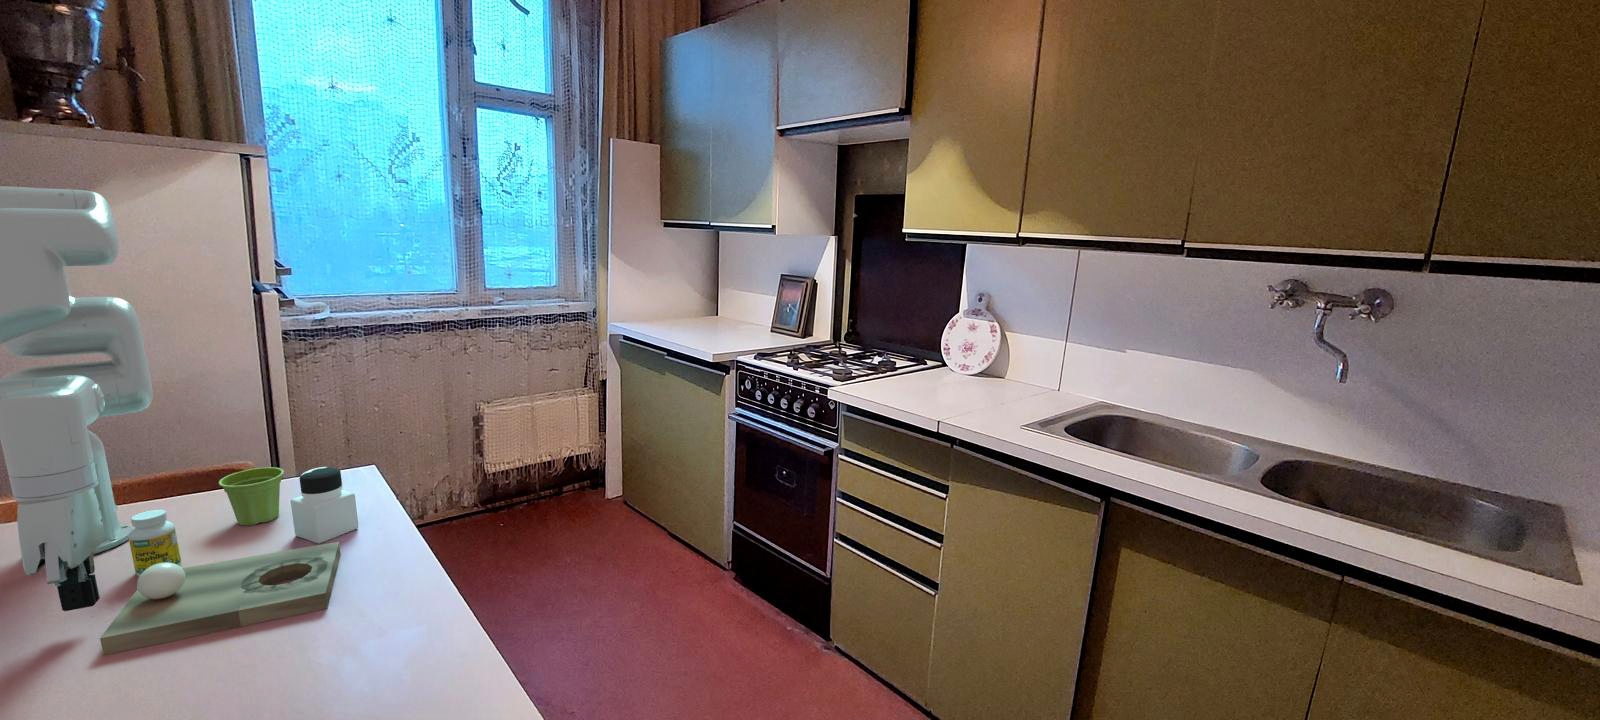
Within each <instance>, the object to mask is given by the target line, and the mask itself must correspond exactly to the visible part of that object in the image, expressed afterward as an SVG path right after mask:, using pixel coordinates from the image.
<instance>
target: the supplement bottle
mask: <svg viewBox="0 0 1600 720" xmlns="http://www.w3.org/2000/svg"><path fill="white" fill-rule="evenodd" d="M130 520H131V527H132V529H133V530H131V531H130V533H129V535H128V537H129V539H128V543H129V546H130V552H131V557H132V562H133V567H134V571H135V574H136V576H137V577H140V575H141V574H142V573H143V572H144V571H145V570H146V569H147V568H149V567H151V566H153V565H155V564H159V563H166V562H168V563H174V564H177V565H179V566H180V567H181V564H182V559H181V558H182V557H181V553H180V548H179V547H180V546H179V541H178V536H177V533H176V532H177V531H176V526H175V524H174V523H173V522H171V521H168V516H167V512H166V510H164V509H154V510H153V509H151V510H147V511H144V512H140V513H138V514H134V515H133V516H131V518H130Z"/></svg>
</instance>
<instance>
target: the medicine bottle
mask: <svg viewBox="0 0 1600 720" xmlns="http://www.w3.org/2000/svg"><path fill="white" fill-rule="evenodd" d="M341 472H342V471H341V469H339V468H337V467H331V466H322V467H316V468H312V469H309V470H307V471H305V472H303V473H302V474H301V475H300V476H299V479H298V480H299V484H300V493H301V494H300V496H297V497H294V498H291V500H290V507H291V514H292V522H293V528H294V534H295V535H294V536H296V537H298V538H301V539H304V540H307V541H310V542H312V543H314V544H317V545H321V544H322V543H323V544H324V543H325V542H329V541H330V540H332V539H334V538H337V537H340V535H341V536H343V535H345V533H346V534H348V533H350V531H351V532H353V531H356V530H358V529H359V521H358V514H357V513H358V512H357V504H356V496H355V493H354V492H351V491H347V490H344V489H343V481H342V473H341ZM357 528H358V529H357ZM355 529H356V530H355ZM352 530H353V531H352Z"/></svg>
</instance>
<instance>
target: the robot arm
mask: <svg viewBox="0 0 1600 720" xmlns="http://www.w3.org/2000/svg"><path fill="white" fill-rule="evenodd" d="M119 246H120V242H119V235H118V231H117V226H116V224H115V218H114V216H113V212H112V209H111V206H110V204H109V203H108V201H107V200H106V198H105V197H104V196H102V195H101V194H99V193H97V192H95V191H91V190H90V191H89V190H83V189H66V188H43V187H25V186H23V187H22V186H7V185H6V186H2V185H0V345H1V346H2V347H3V349H4V350H5V351H6V352H7V353H8V354H10V355H12V356H14V357H18V358H25V359H26V358H27V359H33V358H34V359H35V358H36V359H37V358H40V359H41V358H53V357H55V358H56V357H66V356H77V355H78V356H79V355H80V356H82V355H91V354H103V355H106V356H108V357H109V358H110V359H109V360H99V361H98V360H97V361H88V362H87V361H86V362H77V363H75V362H73V363H61V364H60V363H59V364H51V365H41V366H39V365H38V366H32V367H31V366H30V367H26V368H22V369H19V370H18V369H17V370H13V371H12V372H9V373H7V374H5V375H3V377H1V378H0V443H1V447H2V451H3V456H4V460H5V466H6V469H7V474H8V478H9V483H10V487H11V492H12V496H13V500H14V501H16V502H18V503H17V513H16V514H17V515H16V516H17V531H18V540H19V541H18V542H19V550H20V554H21V560H22V561H21V562H22V567H23V571H24V573H25V574H26V575H28V576H34V575H36V574H38V573H39V572H40V571H41V570H42V569H43V568H45V575H46V583H47V585H51V584H53V585H55V587H57V592H58V597H59V602H60V606H61V609H62V611H64V612H68V611H69V612H70V611H74V610H81V609H86V608H91V607H94V606H95V605H96V603H97V602H98V601H99V600H100V598H101V597H100V594H99V589H98V588H99V587H98V583H97V579H96V574H95V571H96V570H95V569H96V568H95V561H94V560H95V559H94V555H96V554H99V553H101V552H104V551H108V550H110V549H113V548H116V547H117V546H119V545H122V544H123V543H125V542H126V541H129V537H128V535H129V533H130V531H131V530H133V529H134V528H133V526H132V525H130V524H127V523H120V522H119V520H118V519H119V518H118V515H117V511H118V509H119V507H118V505H117V504H116V503H115V498H114V492H113V489H112V483H111V478H110V472H109V467H108V462H107V455H106V450H105V447H104V443H103V441H102V439H100V438H99V436H98V435H97V434H96V433H94V432H92V431H91V430H89V429H88V426H90V425H92V423H94V422H95V421H97V419H98V418H104V417H111V416H113V417H114V416H120V415H127V414H132V413H133V414H134V413H138V412H142V411H144V410H146V409H147V408H149V407H150V405H151V404H152V402H153V398H154V397H153V396H154V395H153V393H154V391H153V385H152V378H151V373H150V372H151V371H150V369H149V363H148V358H147V353H146V348H145V343H144V336H143V333H142V328H141V324H140V320H139V317H138V314H137V311H136V310H135V309H134V307H133V306H132V304H131V303H129V302H128V301H127V300H125V299H123V298H120V297H116V296H90V297H88V296H87V297H74V296H72V293H71V291H70V287H69V283H68V276H67V275H68V274H67V271H66V268H65V267H83V266H84V267H85V266H86V267H90V266H91V267H95V266H97V267H98V266H99V267H100V266H101V267H102V266H107V265H111V264H112V263H113V264H114V262H115V261H117V258H118V256H119V251H120V250H119V248H120V247H119Z"/></svg>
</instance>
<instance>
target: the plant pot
mask: <svg viewBox="0 0 1600 720" xmlns="http://www.w3.org/2000/svg"><path fill="white" fill-rule="evenodd" d="M284 473H285V471H284V469H283V468H280V467H273V466H272V467H271V466H269V467H256V468H251V469H250V468H249V469H246V470H241V471H237V472H233V473H231V474H228V475H226V476H224V477H222V478H221V479H219V481H218V485H219V487H222V488H223V491H224V492H225V493H226V495H227V498H228V500H229V503H230V505H231V508H232V511H233V513H234V517H235V519H236V523H237V524H238V525H241V526H254V525H257V524H258V523H268V522H270V521H272V520H275V519H276V518H277V517H278V516H279V515H280V514H279V513H280V493H281V492H280V488H281V482H282V476H283V475H284Z"/></svg>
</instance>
